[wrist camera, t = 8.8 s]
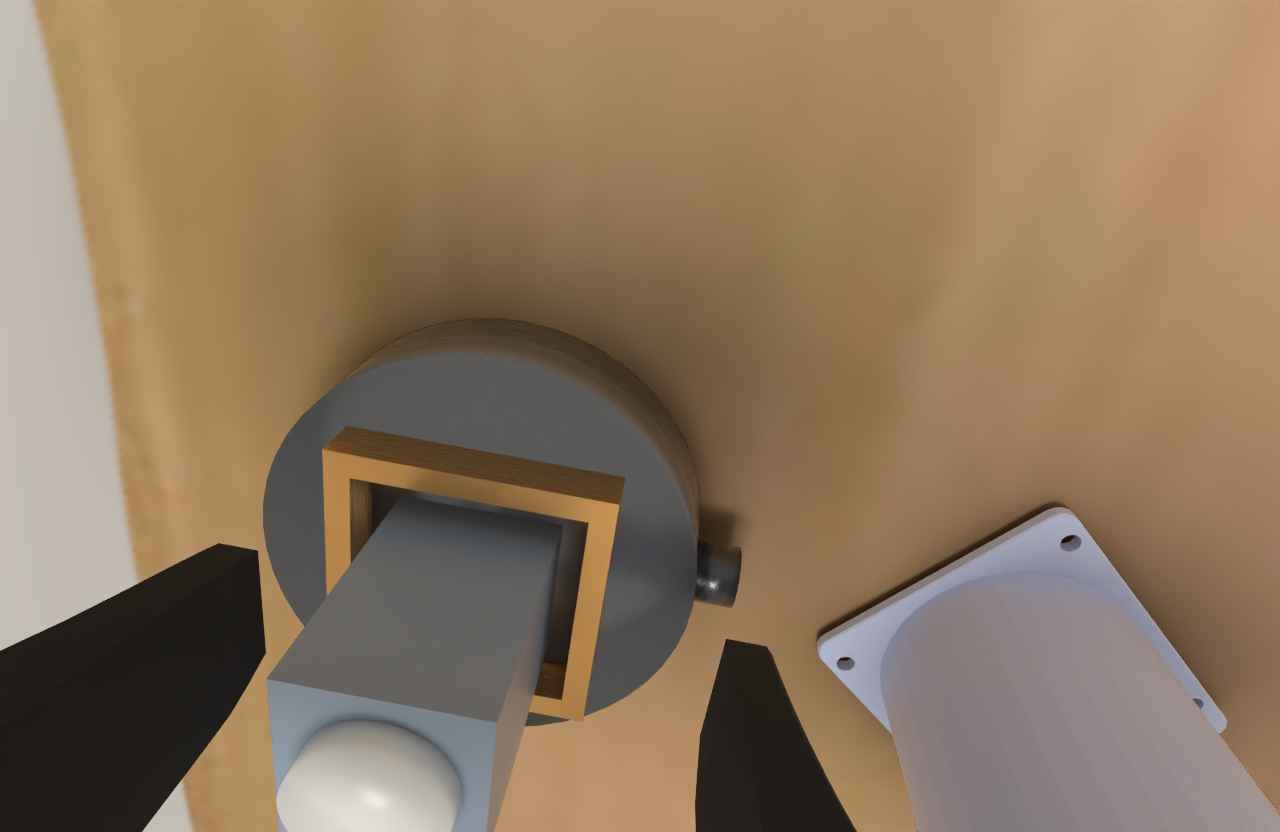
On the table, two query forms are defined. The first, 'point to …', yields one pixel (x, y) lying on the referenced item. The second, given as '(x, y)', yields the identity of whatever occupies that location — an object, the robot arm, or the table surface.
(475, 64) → the table surface
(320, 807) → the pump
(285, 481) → the grey disc square socket
